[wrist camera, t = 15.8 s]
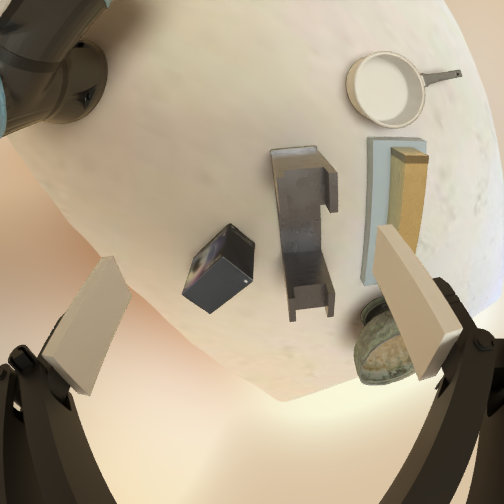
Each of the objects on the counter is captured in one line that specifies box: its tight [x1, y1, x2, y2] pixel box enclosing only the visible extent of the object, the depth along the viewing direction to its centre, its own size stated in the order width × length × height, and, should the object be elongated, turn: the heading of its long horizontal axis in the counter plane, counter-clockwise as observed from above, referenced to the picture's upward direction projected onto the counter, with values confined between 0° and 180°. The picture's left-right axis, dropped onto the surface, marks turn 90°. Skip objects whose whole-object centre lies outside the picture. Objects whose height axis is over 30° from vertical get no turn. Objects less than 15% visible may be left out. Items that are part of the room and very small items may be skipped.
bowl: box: [354, 296, 416, 385], centre depth 53 cm, size 20×19×15 cm
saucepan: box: [346, 51, 462, 129], centre depth 31 cm, size 12×20×6 cm, turn 116°
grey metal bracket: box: [271, 146, 338, 322], centre depth 42 cm, size 7×24×12 cm, turn 8°
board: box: [361, 137, 427, 286], centre depth 45 cm, size 10×28×2 cm, turn 8°
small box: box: [182, 224, 255, 314], centre depth 46 cm, size 11×6×10 cm, turn 136°
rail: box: [387, 147, 429, 254], centre depth 42 cm, size 4×26×5 cm, turn 8°
